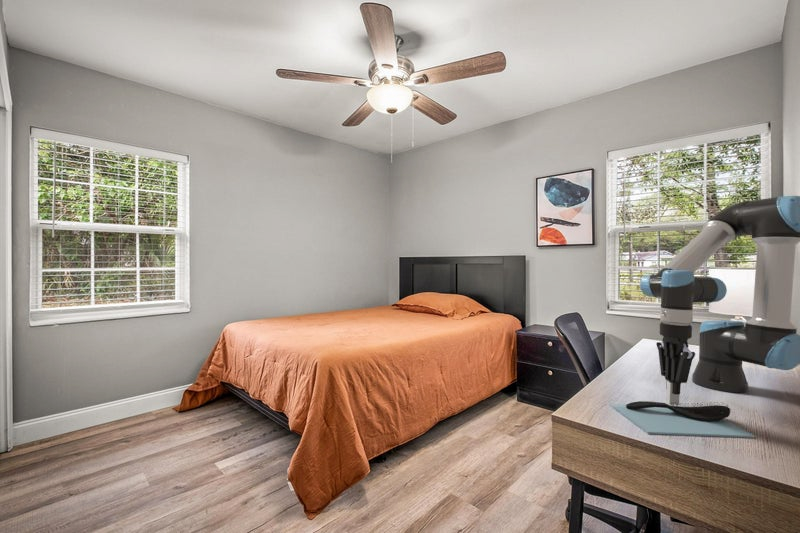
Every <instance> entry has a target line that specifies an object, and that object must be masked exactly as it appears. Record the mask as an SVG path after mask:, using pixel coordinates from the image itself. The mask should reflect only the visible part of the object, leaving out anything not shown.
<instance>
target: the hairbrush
mask: <svg viewBox="0 0 800 533" xmlns="http://www.w3.org/2000/svg"><path fill="white" fill-rule="evenodd" d="M675 403H676V402H675ZM715 403H716V402H715V401H714V402H713V405H711V404H712V402H709V403H708V402H707V403H706V404H704V403H703V404H704V405H703V404H702V403H700V404H699V402H697V403H695V402H693V403H690V404H689V402H688V403H687V402H686V403H683V405H682V403H680V402H679V405H672V404H671V405H672V406H670V405H669V404H668V403H666V402H661V401H660V402H659V401H658V402H657V401H648V400H647V401H644V400H643V401H642V400H640V401H633V402H630V403H626V404H627V405H626V408H627V409H642V408H651V407H659V408H668V409H670V410H672V411H674V412H675V413H677V414H680V415H682V416H684V417H687V418H690V419H694V420H697V421H707V422H710V421H720V420H722V419H723V420H725V419H726V418H728V417H729V416H730V415H731V408H730V407H729V405H728V404H726V403H725V405H721V404H724V402H721V404H720V403H718V404H716V405H715ZM677 404H678V403H677ZM691 404H692V405H691ZM690 405H691V406H693V407H689V406H690ZM678 406H682V407H678ZM683 406H685V407H683ZM687 406H688V407H687Z"/></svg>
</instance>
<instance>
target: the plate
mask: <svg viewBox="0 0 800 533" xmlns="http://www.w3.org/2000/svg"><path fill="white" fill-rule="evenodd" d="M606 404H607V406H609V407H611V408H612V409H614V410H615V411H616V412H618V413H619V414H620V415H622V416H623V417H625V419H627V420H628V421H630V422H631V423H633V424H634V425H635V426H636V427H638V428H639V429H640V430H642V431H644V432H645V433H646V434H647V435H666V436H667V435H668V436H692V437H693V436H695V437H723V438H747V439H748V438H749V439H751V438H752V439H756V435H754V434H752V433H750V432H748V431H746V430H745V429H743V428H741V427H739V426H737V425H735V424H733V423H731V422H729V421H727V420H725V419H722V420H720V421H710V422H707V421H697V420H694V419H690V418H687V417H684V416H682V415H680V414H677V413H675V412H674V411H672V410H670V409H668V408H659V407H651V408H642V409H627V408H626V405H627V404H628V403H614V402H612V403H607V402H606ZM670 406H672V405H670ZM682 406H683V407H685V406H687V407H688V406H689V407H693V406H694V405H678V407H682Z"/></svg>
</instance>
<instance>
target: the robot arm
mask: <svg viewBox="0 0 800 533" xmlns="http://www.w3.org/2000/svg"><path fill="white" fill-rule="evenodd" d="M743 236H751V241H752V242H754V243H755V244H756V245H757V246H756V259H755V260H756V262H755V264H756V265H755V275H754V286H753V287H754V288H753V289H754V290H753V302H752V305H753V306H752V317H751V318H749V319H748V320H745V323H744V322H743V321H742V320H741V321H740V320H739V321H738V320H705V321H702V322H701V324H700V328H699V332H698V333H699V347H698V349H699V351H698V362H697V364H696V366H695V369H694V372H693V373H692V375H691V376H692V379H691V382H693V383H694V384H696V385H699V386H701V387H704V388H707V389H711V390H717V391H721V392H726V393H728V392H729V393H740V394H741V393H748V392H749V383H748V380H747V377H746V374H745V372H744V369H743V362H744V363H749V364H753V365H756V366H757V365H758V366H762V367H766V368H768V369H775V370H780V371H790V370H793V369H795V368H797V367H798V366H799V364H800V334H799V333H798V332H797V329H798V328H797V327H796V326H795V324H793V323H792V322H791V313H792V303H793V302H792V299H793V288H794V285H793V284H794V274H795V273H794V272H795V262H796V261H795V260H796V256H795V255H796V247H797V245H798V244H799V243H800V195H787V196H786V195H780V196H777V197H776V196H775V197H769V198H762V199H754V200H744V201H740V202H737V203H734V204H732V205H730V206H728V207H726V208H724V209H722V210H721V211H720V212H719V211H718V213H716V214H715V215H713V216H712V217H710V219H708V220H707V221H706V222H705V223H704V224H703V225H702V230H701V231H700V232H699V233H698V234H697V235H696V236H695V237H694V238H693V239H691V241H690V242H689V243H688V244H686V245H685V246H684V247H683V248H682V249H681V250H680V251H679V252H678V253H677V254H676V255H675V256H674V257H673V258H672V259H671V260H669V262H667V264H666V265H665V266H663V267H662V268H661V269H660V270H659V271H658V272H657V273H655V274H652V273H651V274H646V275H644V276H642V278H641V279H640V282H639V288H640V289H639V290H640V291H641V293H642V294H643V295H644V296H646V297H651V298H655V299H661V300H660V312H659V314H660V315H659V316H660V317H659V318H660V319H659V320H660V321H661V322H660V323H659V335H661V336H662V339H661V340H662V341H661V342H660V341H659V342H658V341H657V342H656V348H657V350H658V359H659V368H660V374H661V376H662V377H664V378H665V381H666V384H665V385H666V388H665V390H666V395H665V396H666V397H665V403H666V404H668V405H671V404H672V405H674V406H677V405H678V406H680V405H679V404H680V395H681V386H682V384H687V383H688V380H689V374H690V370H691V368H692V363H693V359H694V358H695V356H696V352H695V351H691V350H690V349H689V342H688V340H689V339H691V338H692V336H693V333H692V332H693V326H692V325H691V324H693V322H694V321H693V320H694V318H693V317H694V316H693V315H694V314H693V313H694V312H693V306H694V303H708V304H710V303H717V302H720V301H721V300H724V298H725V297H726V295H727V292H728V291H727V290H728V289H727V286H726V283H725V282H724V281H723V280H722V279H720V278H717V277H712V276H695V273H696V272H697V271H698V270H699V269H700V267H702V266H703V265H704V264H705V263H706V262H707V261H708V260H710V258H711V257H713V255H714V254H715V253H716V252H718V250H719V249H721V247H723V246H724V245H725V244H729V243H731V242H732V241H734V240H735V239H736V238H740V237H743ZM675 402H676V403H675ZM677 403H678V404H677Z"/></svg>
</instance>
